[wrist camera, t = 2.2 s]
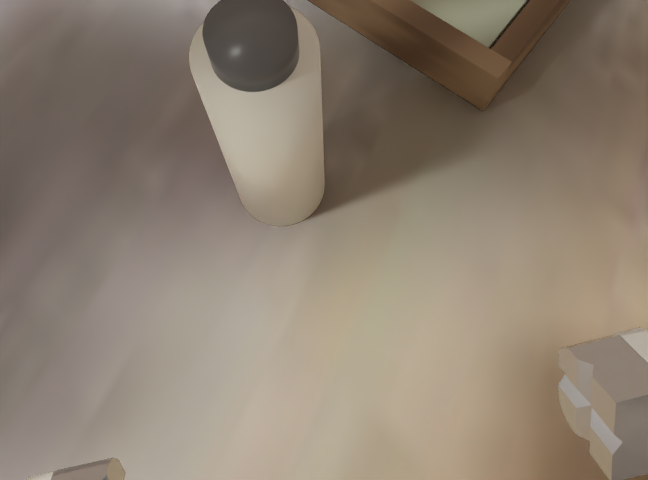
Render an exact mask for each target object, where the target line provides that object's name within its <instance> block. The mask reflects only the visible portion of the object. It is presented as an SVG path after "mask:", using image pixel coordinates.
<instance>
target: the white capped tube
mask: <svg viewBox="0 0 648 480" xmlns="http://www.w3.org/2000/svg"><path fill="white" fill-rule="evenodd" d="M189 64H190V69H191V73H192V76H193V78H194V81H195V83H196V86H197V89H198V91H199V94H200V96H201V99H202V102H203V104H204V107H205V109H206V112H207V114H208V117H209V120H210V122H211V125H212V127H213V130H214V133H215V135H216V138H217V140H218V143H219V145H220V148H221V151H222V153H223V156H224V158H225V161H226V164H227V166H228V169H229V171H230V174H231V176H232V179H233V182H234V184H235V187H236V189H237V192H238V195H239V197H240V200H241V202H242V204H243V206H244V208H245V209H246V210H247V212H248V213H249V214H250V215H251V216H253V217H254V218H255V219H257V220H258V221H260V222H262V223H265V224H268V225H273V226H288V225H293V224H296V223H299V222H301V221H303V220H304V219H306V218H308V217H309V216H310V215H311V214H312V213H313V212H314V211H315V210H316V209H317V207H318V206H319V204H320V203H321V201H322V198H323V195H324V190H325V176H324V145H323V115H322V85H321V54H320V43H319V39H318V36H317V34H316V31H315V30H314V28H313V26H312V25H311V23H310V22H309V21H308V20H307V19H306V18H305V17H304V16H303V15H302V14H301V13H300V12H298V11H297V10H296V9H294V8H292V7H290V6H288V5H287V4H286V3H285V2H284V1H283V0H221V1H219V2H218V3H217V4H216V5H215V6H214V7H213V8H212V9H211V10H210V12H209V13H208V14H207V16H206V18H205V21H204V22H203V23H202V24H201V25H200V27H199V28H198V30H197V31H196V33H195V35H194V37H193V39H192V42H191V45H190V51H189Z"/></svg>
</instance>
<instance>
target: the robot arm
mask: <svg viewBox="0 0 648 480" xmlns="http://www.w3.org/2000/svg"><path fill="white" fill-rule="evenodd" d="M558 366H559V367H560V368H561V370H562V371H563V372H564V373H565V375H564V377H563V378H562V380H561V381H560V383H559V384H558V393H559V402H560V405H561V409H562V412H563V415H564V417H565V419H566V421H567V422H568V424H569V426H570V427H571V429H572V430H573V431H574V433H575V434H576V435H577V436H579V437H581V438H584V439H586V440H588V441H590V455H591V456H592V458H593V459H594V460H595V462H596V463H597V464H598V466H599V467H600V468H601V470H602V471H603V472H604V474H605V475H606V476H607V478H608V479H609V480H625V479H629V478H634V477H638V476H643V475H647V474H648V331H647V330H646V329H643V328H640V327H639V328H635V329H631V330H627V331H624V332H620V333H616V334H613V335H611V336H606V337H602V338H598V339H594V340H590V341H586V342H582V343H578V344H574V345H570V346H567V347H563V348H561V349H560V352H559V354H558ZM124 477H125V471H124V469H123V467H122V465H121V463H120V461H119V459H116V458H110V459H105V460H100V461H96V462H91V463H87V464H82V465H78V466H73V467H69V468H64V469H60V470H57V471H54V472H49V473H44V474H40V475H35V476H30V477H28V478H27V479H26V480H124Z"/></svg>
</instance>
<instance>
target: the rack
mask: <svg viewBox="0 0 648 480" xmlns="http://www.w3.org/2000/svg"><path fill="white" fill-rule="evenodd" d="M308 1H310V2H311V3H313V4H314V5H316V6H317V7H319V8H321V9H322V10H324V11H325V12H327V13H329V14H330V15H332V16H333V17H335V18H337V19H338V20H340V21H341V22H343V23H344V24H346V25H348V26H349V27H351V28H352V29H354V30H356V31H357V32H359V33H360V34H362V35H363V36H365V37H367V38H368V39H370V40H371V41H373V42H375V43H376V44H378V45H379V46H381V47H382V48H384V49H386V50H387V51H389V52H390V53H392V54H394V55H395V56H397V57H398V58H400V59H401V60H403V61H405V62H406V63H408V64H409V65H411V66H413V67H414V68H416V69H417V70H419V71H420V72H422V73H424V74H425V75H427V76H428V77H430V78H432V79H433V80H435V81H436V82H438V83H439V84H441V85H443V86H444V87H446V88H447V89H449V90H451V91H452V92H454V93H455V94H457V95H458V96H460V97H462V98H463V99H465V100H466V101H468V102H470V103H471V104H473V105H474V106H476V107H478V108H479V109H481V110H482V111H484V110H485V109H486V107H487V106H488V105H489V103H490V102H491V101H492V100H493V98H494V97H495V96H496V95H497V93H498V92H499V91H500V89H501V88H502V87H503V86H504V84H505V83H506V82H507V80H508V79H509V78H510V77H511V75H512V74H513V73H514V72H515V70H516V69H517V68H518V66H519V65H520V64H521V63H522V61H523V60H524V59H525V57H526V56H527V55H528V54H529V52H530V51H531V50H532V49H533V47H534V46H535V45H536V43H537V42H538V41H539V40H540V38H541V37H542V36H543V34H544V33H545V32H546V31H547V29H548V28H549V27H550V25H551V24H552V23H553V22H554V20H555V19H556V18H557V17H558V15H559V14H560V13H561V11H562V10H563V9H564V8H565V6H566V5H567V4H568V2H569V1H570V0H530V1H529V2H528V4H527V5H526V6H525V7H524V9H523V10H522V11H521V12H520V14H519V15H518V16H517V17H516V19H515V20H514V21H513V22H512V23H511V25H510V26H509V27H508V28H507V30H506V31H505V32H504V33H503V35H502V36H501V37H500V38H499V40H498V41H497V42H496V43H495V45H494V46H493V47H492V48H491V49H490V46H491V45H492V44H493V43H494V41H495V40H496V39H497V38H498V37H499V35H500V34H501V33H502V32H503V30H504V29H505V28H506V27H507V25H508V24H509V23H510V22H511V20H512V19H513V18H514V17H515V16H516V14H517V13H518V12H519V11H520V9H521V8H522V7H523V6H524V4H525V3H526V2H527V1H528V0H308Z"/></svg>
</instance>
